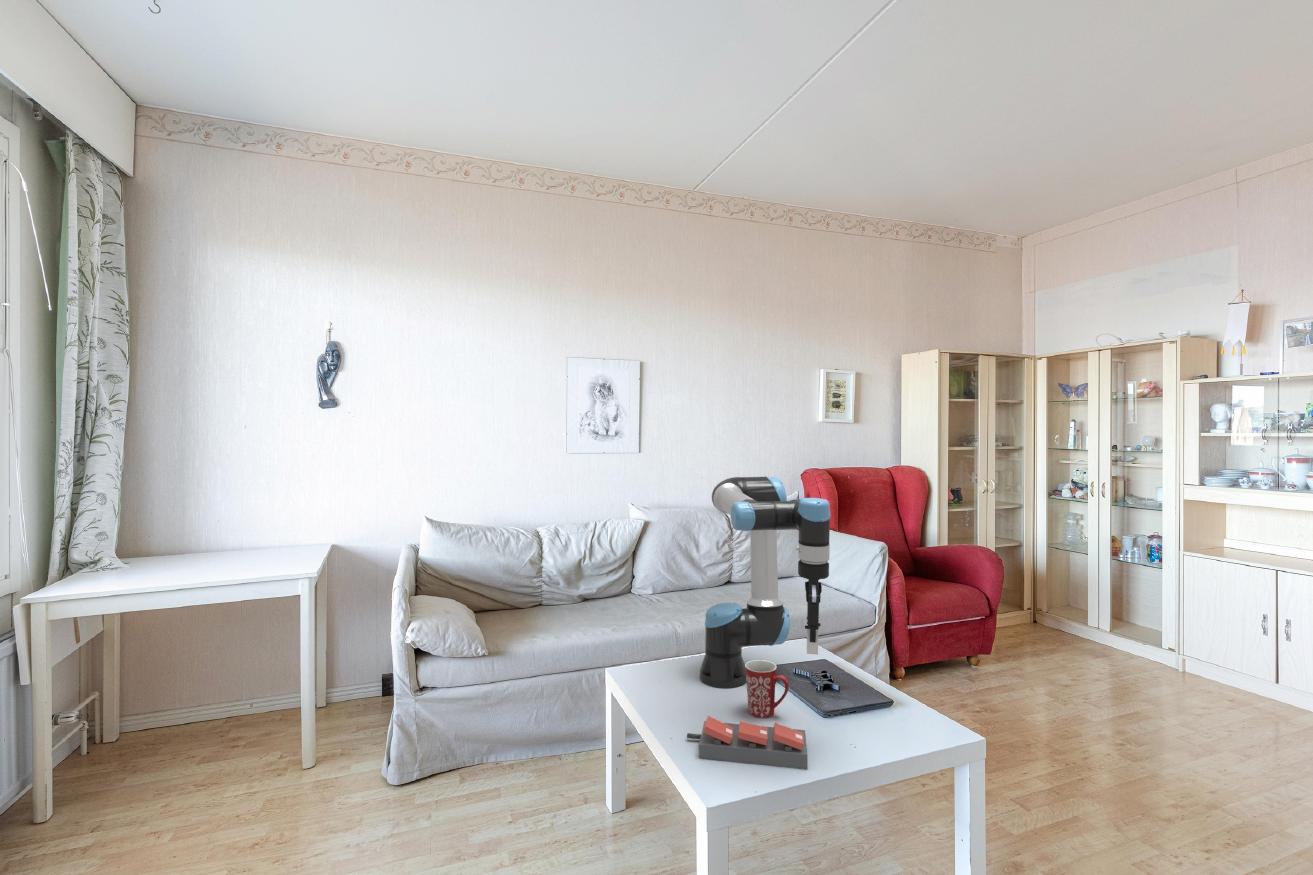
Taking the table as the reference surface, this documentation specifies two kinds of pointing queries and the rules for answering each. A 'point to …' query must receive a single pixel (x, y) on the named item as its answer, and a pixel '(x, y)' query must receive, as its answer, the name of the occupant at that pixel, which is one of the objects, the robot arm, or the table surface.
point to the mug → (762, 687)
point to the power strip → (751, 750)
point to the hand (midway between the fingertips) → (812, 652)
